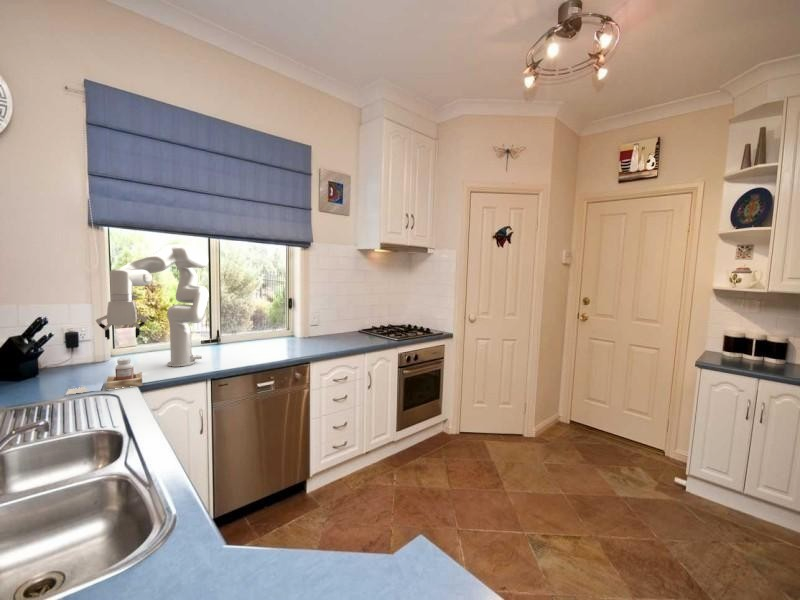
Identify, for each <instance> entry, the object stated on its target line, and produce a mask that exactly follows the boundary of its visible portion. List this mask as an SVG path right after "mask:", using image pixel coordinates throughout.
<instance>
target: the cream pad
mask: <svg viewBox="0 0 800 600" xmlns="http://www.w3.org/2000/svg"><path fill="white" fill-rule="evenodd" d="M87 390H89V389H87V388H85V386H84V387H81V388H80V387H79V388H78V389H77V388H75V389H74V388H73V389H69V388H68V389H67V390H66V391H65V395H66V396H70V395H69V394H74V395H77V394H76V393H81V394H84V393H83V392H87ZM65 395H64V396H65Z"/></svg>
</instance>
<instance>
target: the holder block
mask: <svg viewBox="0 0 800 600" xmlns="http://www.w3.org/2000/svg"><path fill="white" fill-rule="evenodd" d="M130 386H136V387H142V386H143V373H142V372H134V379H126V380H118V381H116V374H114V375H107V378H106V381H105V390H106V389H114V390H116V389H115V388H121V389H123V388H122V387H129V388H131V387H130Z"/></svg>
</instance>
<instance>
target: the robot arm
mask: <svg viewBox="0 0 800 600" xmlns="http://www.w3.org/2000/svg"><path fill="white" fill-rule="evenodd" d="M174 264H175V266H176V268H177V269H178V272H179V280H178V284H177V288H176V292H175V300H176V301H177V302H179V303H182V304H173V305H171V306H170V307H169V308H168V309H167V311H166V316H167V321H168V325H169V343H170V344H169V345H170V361H168V362H167V364H166V365H167V366H168V367H171V366H172V368H176V367H177V368H180V366H181V367H188V366H192V365H194V364H195V363H196V360H202V358H203V357H202V355H199V354H198V355H193V353H192V329H191V327H190V324H199V323H201V322H203V320H204V318H205V317H206V316H205V315H206V311H207V308H208V303H209V298H210V294H209V293H210V292H209V290H208V288H206V287H205V286H203V285H198V282H199V277H198V274H197V272H196V271H195V270H194V269H203V268H206V267H207V265H208V264H209V257H208V256H207V254H206V253H205V252H203V251H202V250H199V249H197V248H195V247H193V246H191V245H188V244H167V245H166V246H164V247H162V248H161V249H159V250H158V251H156V252H155V253H153V254H151V255H149V256H145V257H143V258H139V259H137V260H134V261H130V262H128V263H126V264H125V265H123V266H121V267H120V268H115V269H114V268H113V269H111V270H110V272H109V286H110V290H109V291H110V293H109V294H110V301H108V302H107V309H106V310H107V311H106V315H104V316H102V317H100V318H97V319H95V322H96V324H97V325H98V327H100V328H102V329H103V330H104V337H105V338H106V340H107V341H108V340H110V339H111V334H110V332H111V331H110V327H111V326H128V325H129V326H130V325H133V326H134V327H135V329H134V331H135V338H136V339H138V337H139V336H140V335H141V333H140V332H141V331H140V329H141V328H142V327H143V326H144V325H145V324H146V323H147V321H148V317H146V316H145V315H141V314H138V312H137V311H138V310H137V304H136V301H135V299H136V300H137V299H138V295H135V294H134V290H133V289H134V288H133V287H146V286H148V285H150V284H151V283H152V281H153V276H152V274H156V273H160V272H163V271H165V270H166V269H168V268H170V267H171V266H172V265H174ZM138 319H140V320H142V321H141V322H140V323H138V322H137V321H138ZM104 320H106V323H107V324H106V325H105V324H104V323H103V322H102V321H104Z"/></svg>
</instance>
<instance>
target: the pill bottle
mask: <svg viewBox="0 0 800 600" xmlns="http://www.w3.org/2000/svg"><path fill="white" fill-rule="evenodd" d="M134 373H135V372H134V364H133V363H132V359H131V358H130V357H123V358H118V359H117V365H115V375H116V381H118V380H126V379H134Z"/></svg>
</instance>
